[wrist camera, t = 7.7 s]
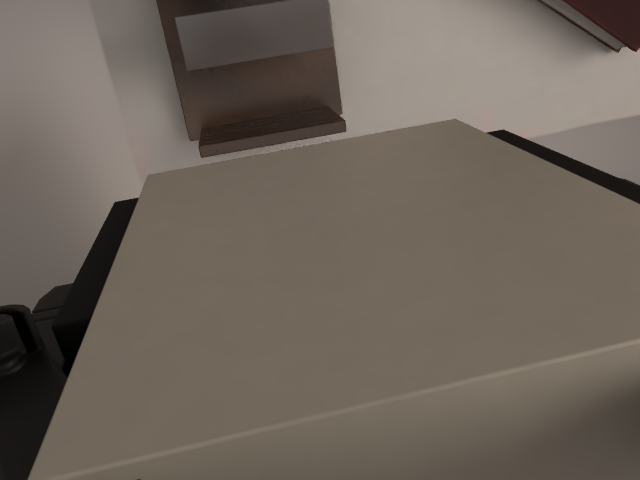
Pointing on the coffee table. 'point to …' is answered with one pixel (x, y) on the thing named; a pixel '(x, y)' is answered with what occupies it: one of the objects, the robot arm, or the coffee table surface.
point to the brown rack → (253, 71)
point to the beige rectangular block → (363, 321)
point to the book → (604, 20)
